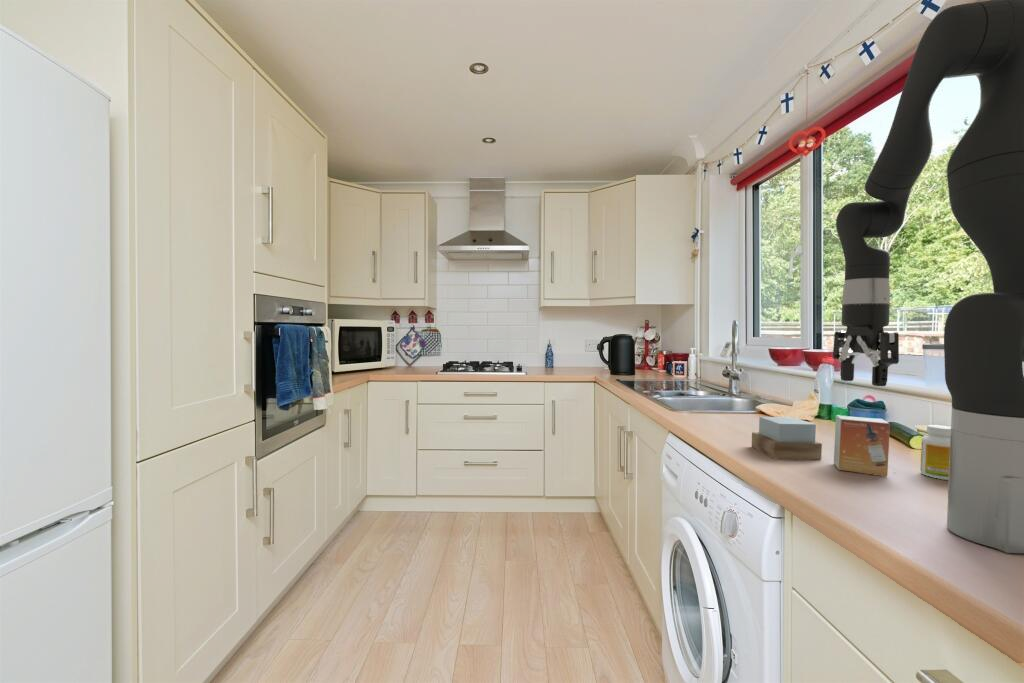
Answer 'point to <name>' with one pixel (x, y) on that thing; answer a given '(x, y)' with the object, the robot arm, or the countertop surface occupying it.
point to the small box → (861, 445)
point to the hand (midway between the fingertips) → (862, 383)
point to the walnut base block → (786, 448)
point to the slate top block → (787, 429)
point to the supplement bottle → (936, 452)
